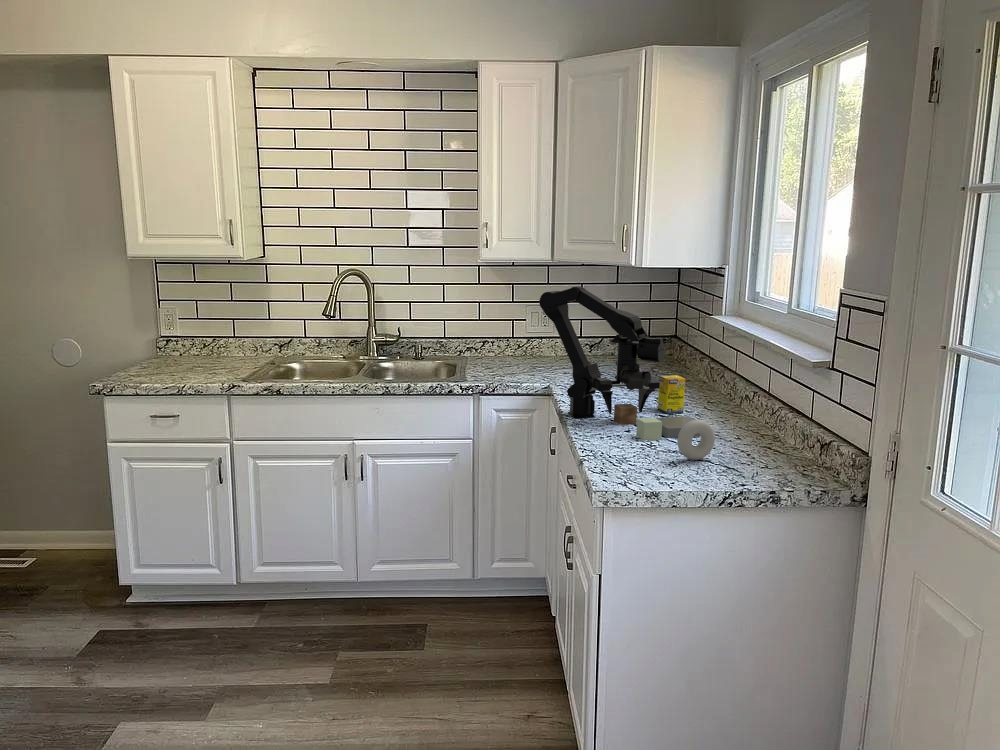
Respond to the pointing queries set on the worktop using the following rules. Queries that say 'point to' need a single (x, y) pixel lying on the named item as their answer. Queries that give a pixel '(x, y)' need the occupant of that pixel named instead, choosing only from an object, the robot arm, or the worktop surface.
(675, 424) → the block
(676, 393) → the supplement box
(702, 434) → the donut
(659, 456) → the worktop surface
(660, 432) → the sage block
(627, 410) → the walnut block
